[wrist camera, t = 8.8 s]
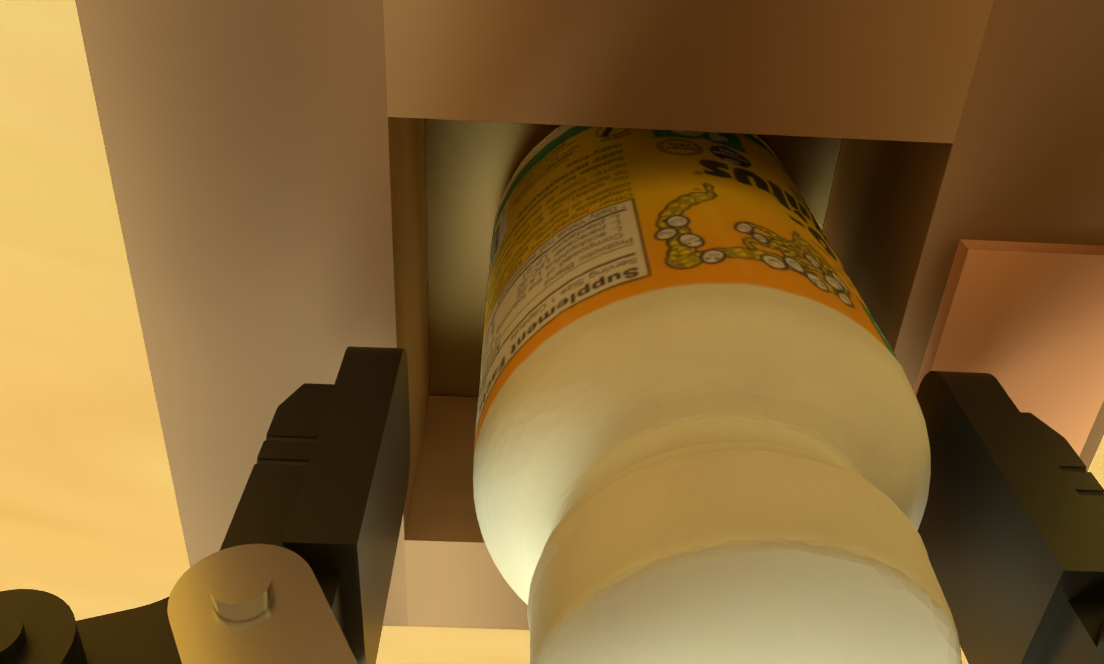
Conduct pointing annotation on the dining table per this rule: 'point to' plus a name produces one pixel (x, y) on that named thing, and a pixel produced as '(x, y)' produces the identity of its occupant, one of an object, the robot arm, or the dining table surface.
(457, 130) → the dining table surface
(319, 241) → the socket block
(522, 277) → the supplement bottle
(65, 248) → the dining table surface
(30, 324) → the dining table surface
